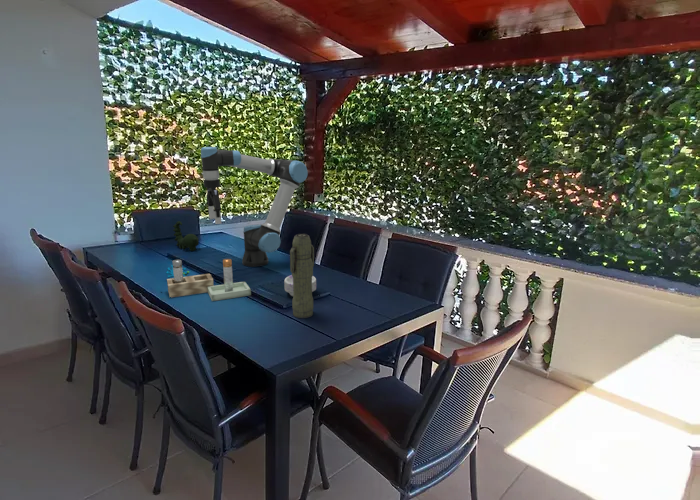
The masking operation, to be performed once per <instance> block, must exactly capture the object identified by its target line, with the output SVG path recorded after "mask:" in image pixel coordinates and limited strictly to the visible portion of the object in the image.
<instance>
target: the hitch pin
mask: <svg viewBox="0 0 700 500" xmlns="http://www.w3.org/2000/svg"><path fill="white" fill-rule="evenodd" d="M232 262H233V261H232V258H224V259H222V266H223V267H222V268H223V284H224V288H225V292H230V291H233V283H234V282H233V281H234V279H233V277H234V276H233V263H232Z"/></svg>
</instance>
